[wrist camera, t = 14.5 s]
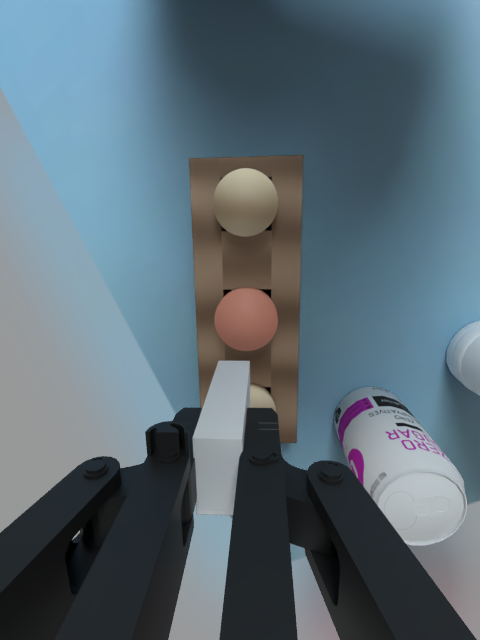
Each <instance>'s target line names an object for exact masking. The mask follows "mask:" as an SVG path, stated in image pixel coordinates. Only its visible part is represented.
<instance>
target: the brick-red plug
mask: <svg viewBox="0 0 480 640" xmlns="http://www.w3.org/2000/svg"><path fill="white" fill-rule="evenodd" d="M214 322H215V328H216V331H217V333H218V335H219V337H220V338H221V339H222V341H223V342H224V343H226V344H227V345H228V346H230V347H232V348H234V349H236V350H240V351H253V350H256V349H259V348H261V347H263V346H265V345H266V344H267V343H268V342H269V341H270V340H271V339H272V338H273V336H274V334H275V332H276V330H277V325H278V316H277V310H276V307H275V304H274V302H273V301H272V299H271V298H270V297H269V296H268V295H267V294H266V293H265V292H263V291H261V290H259V289H257V288H253V287H240V288H236V289H234V290H232V291H230V292H229V293H227V294H226V295H225V296H224V297H223V298H222V300H221V301H220V303H219V305H218V307H217V309H216V312H215V317H214Z"/></svg>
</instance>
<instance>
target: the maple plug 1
mask: <svg viewBox="0 0 480 640" xmlns="http://www.w3.org/2000/svg"><path fill="white" fill-rule="evenodd" d="M213 209H214V213H215V216H216V218H217V220H218V222H219V223H220V225H221V226H222V227H223V228H224V229H225V230H227V231H228V232H230V233H232V234H234V235H237V236H242V237H248V236H254V235H257V234H259V233H261V232H263V231H264V230H265V229H266V228H268V227H269V225H270V224H271V223H272V221H273V220H274V218H275V216H276V213H277V209H278V196H277V192H276V189H275V187H274V185H273V183H272V181H271V180H270V179H269V178H268V177H267V176H266V175H265V174H263V173H262V172H260V171H258V170H255V169H250V168H242V169H237V170H234V171H232V172H230V173H228V174H227V175H226V176H225V177H224V178H222V180H221V181H220V182H219V184H218V185H217V187H216V190H215V192H214V197H213Z"/></svg>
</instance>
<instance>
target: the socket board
mask: <svg viewBox="0 0 480 640" xmlns="http://www.w3.org/2000/svg"><path fill="white" fill-rule="evenodd" d="M189 167H190V189H191V211H192V232H193V254H194V276H195V298H196V320H197V342H198V364H199V386H200V407H201V408H203V405H204V402H205V399H206V396H207V393H208V391H209V388H210V385H211V382H212V379H213V376H214V373H215V370H216V367H217V364H218V361H250V383H254V384H258V385H260V386H262V387H270V393H271V395H272V396H273V398H274V401H275V405H276V413H277V414H278V424H279V436H280V443H296V441H297V399H298V357H299V314H300V272H301V230H302V187H303V155H288V156H254V157H220V158H189ZM242 168H250V169H255V170H258V171H260V172H262V173H263V174H265V175H266V176H267V177H268V178H269V179H270V180H271V181H272V183H273V185H274V187H275V189H276V192H277V196H278V209H277V213H276V216H275V218H274V220H273V221H272V223H271V224H270V231H263V232H261V233H259V234H257V235H254V236H248V237H242V236H237V235H234V234H232V233H230V232H228V231H227V230H225V229H224V228H223V227H222V226H221V225H220V223H219V222H218V220H217V218H216V216H215V213H214V209H213V197H214V192H215V190H216V187H217V185H218V184H219V182H220V181H221V180H222V178H224V177H225V176H226V175H227V174H228V173H230V172H232V171H234V170H237V169H242ZM240 287H253V288H257V289H270V298H271V299H272V301H273V302H274V304H275V307H276V310H277V316H278V325H277V330H276V332H275V334H274V336H273V338H272V339H271V340H270V341H269V342H268V343H267V344H266V345H265V346H263V347H261V348H259V349H256V350H253V351H240V350H236V349H234V348H232V347H230V346H228V345H227V344H226V343H224V342H223V341H222V339H221V338H220V337H219V335H218V333H217V331H216V328H215V322H214V317H215V312H216V309H217V307H218V305H219V303H220V301H221V300H222V298H223V297H224V296H225V295H226V294H227V293H229V289H236V288H240Z"/></svg>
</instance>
